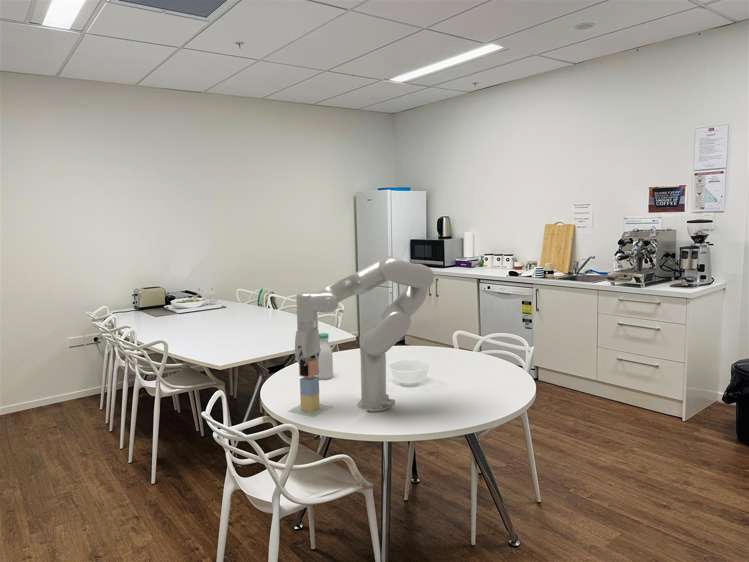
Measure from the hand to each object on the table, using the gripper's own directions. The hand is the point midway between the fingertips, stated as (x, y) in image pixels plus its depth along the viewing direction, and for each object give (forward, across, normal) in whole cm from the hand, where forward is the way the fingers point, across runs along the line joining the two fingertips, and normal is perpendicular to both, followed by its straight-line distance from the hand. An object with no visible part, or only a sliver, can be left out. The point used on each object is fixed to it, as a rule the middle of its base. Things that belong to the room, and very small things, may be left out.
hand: (309, 373), depth 203 cm
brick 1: (+1, 0, 0) cm, 1 cm away
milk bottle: (+15, -37, -19) cm, 44 cm away
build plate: (+15, 0, 0) cm, 15 cm away
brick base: (+14, 0, 0) cm, 14 cm away
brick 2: (+8, 0, 0) cm, 8 cm away
